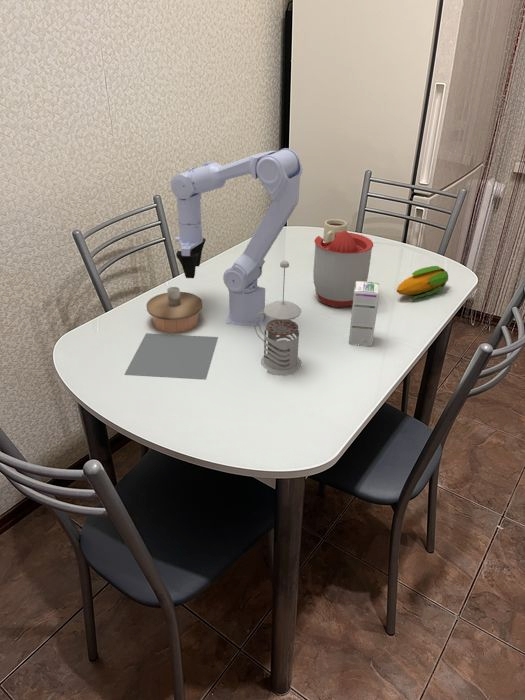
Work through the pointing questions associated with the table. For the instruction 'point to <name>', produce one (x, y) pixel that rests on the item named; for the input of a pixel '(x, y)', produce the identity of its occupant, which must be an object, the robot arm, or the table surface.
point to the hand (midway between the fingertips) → (192, 271)
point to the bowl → (176, 324)
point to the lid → (174, 305)
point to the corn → (424, 282)
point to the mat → (173, 356)
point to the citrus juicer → (340, 267)
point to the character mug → (333, 228)
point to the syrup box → (364, 313)
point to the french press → (281, 336)
